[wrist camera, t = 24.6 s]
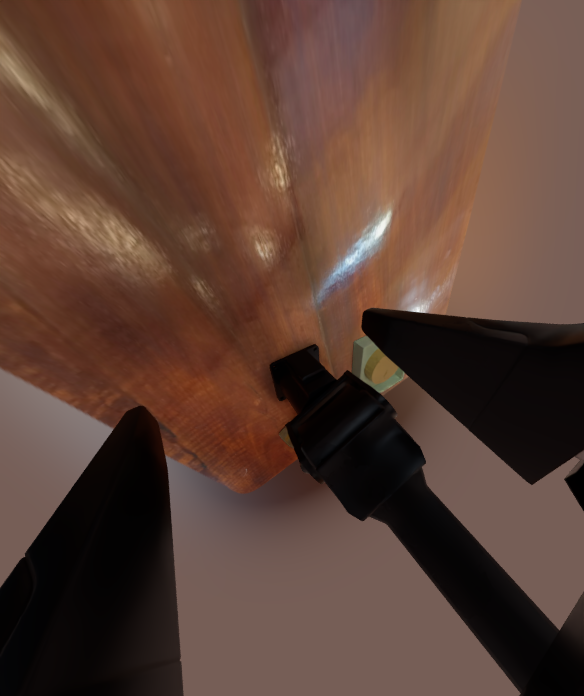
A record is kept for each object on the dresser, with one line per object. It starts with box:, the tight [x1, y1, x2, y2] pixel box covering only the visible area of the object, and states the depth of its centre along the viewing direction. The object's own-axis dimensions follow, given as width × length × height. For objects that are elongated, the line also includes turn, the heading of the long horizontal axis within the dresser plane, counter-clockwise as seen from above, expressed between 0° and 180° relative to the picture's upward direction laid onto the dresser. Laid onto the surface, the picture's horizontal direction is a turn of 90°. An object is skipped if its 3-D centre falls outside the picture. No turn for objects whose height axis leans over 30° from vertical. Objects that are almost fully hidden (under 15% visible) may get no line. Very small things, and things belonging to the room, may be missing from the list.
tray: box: [352, 336, 404, 393], centre depth 35 cm, size 13×11×2 cm
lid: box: [364, 348, 399, 384], centre depth 35 cm, size 7×7×2 cm
